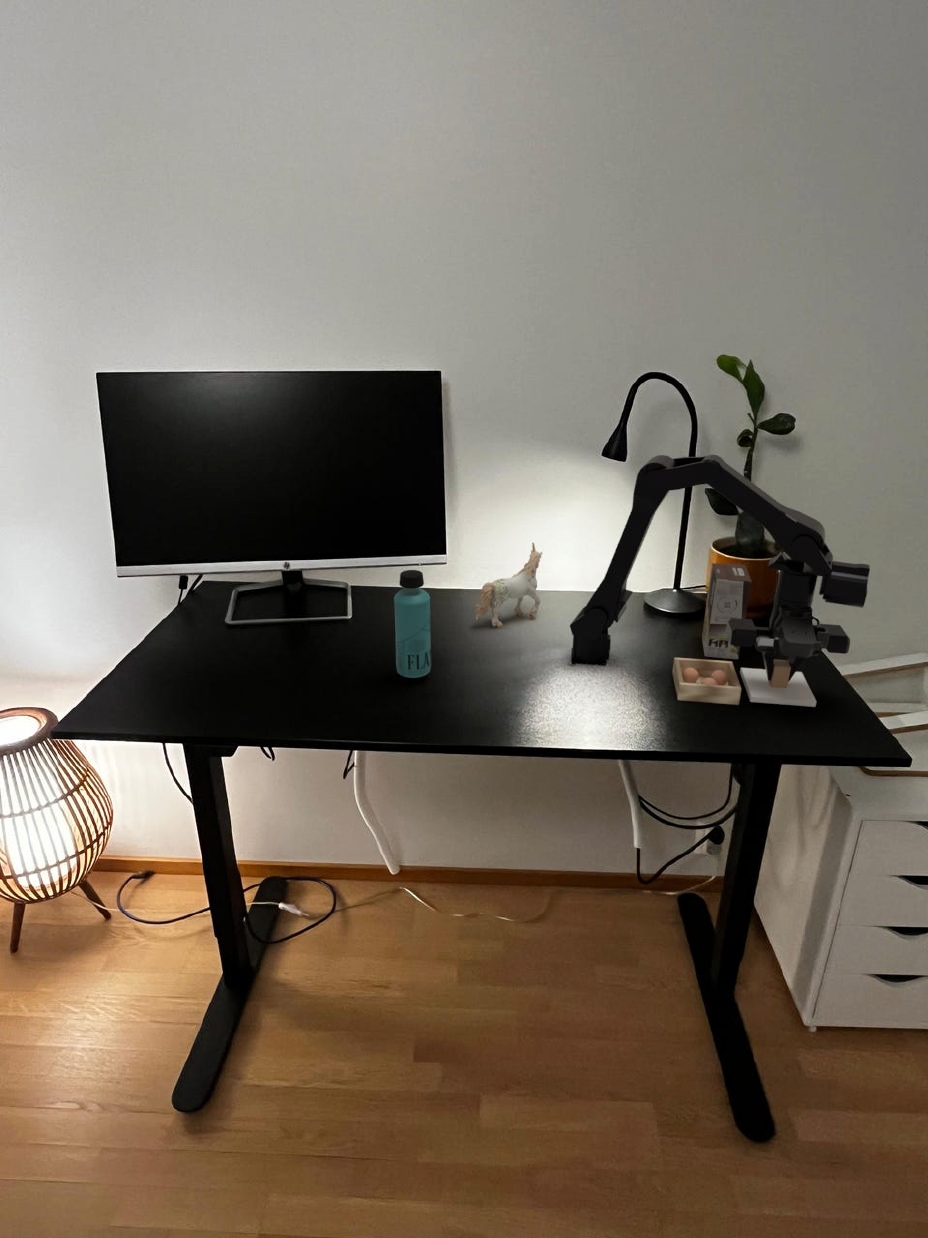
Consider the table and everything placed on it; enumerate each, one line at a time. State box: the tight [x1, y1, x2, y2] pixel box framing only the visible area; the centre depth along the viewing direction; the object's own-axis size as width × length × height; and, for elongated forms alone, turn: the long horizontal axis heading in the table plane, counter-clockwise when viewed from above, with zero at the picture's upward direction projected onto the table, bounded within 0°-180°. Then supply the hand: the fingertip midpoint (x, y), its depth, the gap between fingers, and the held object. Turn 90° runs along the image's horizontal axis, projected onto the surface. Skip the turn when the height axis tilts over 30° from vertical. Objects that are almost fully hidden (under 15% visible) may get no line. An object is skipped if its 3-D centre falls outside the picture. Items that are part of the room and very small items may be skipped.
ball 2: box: [701, 678, 718, 685], centre depth 139 cm, size 3×3×3 cm
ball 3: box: [711, 670, 728, 686], centre depth 141 cm, size 3×3×3 cm
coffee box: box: [701, 562, 753, 660], centre depth 152 cm, size 9×6×16 cm
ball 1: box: [682, 668, 699, 683], centre depth 142 cm, size 3×3×3 cm
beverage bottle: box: [393, 569, 433, 679], centre depth 141 cm, size 6×7×20 cm
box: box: [672, 657, 742, 706], centre depth 140 cm, size 10×10×4 cm
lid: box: [739, 659, 817, 708], centre depth 138 cm, size 10×10×5 cm
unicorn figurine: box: [474, 542, 543, 629], centre depth 166 cm, size 7×20×13 cm, turn 139°
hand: (777, 680), depth 138 cm, fingers closed on lid, 3 cm apart
